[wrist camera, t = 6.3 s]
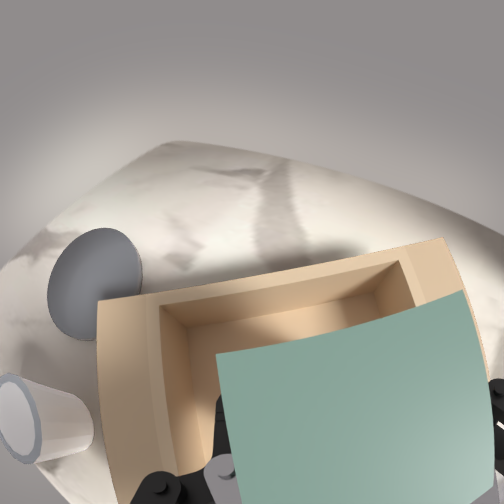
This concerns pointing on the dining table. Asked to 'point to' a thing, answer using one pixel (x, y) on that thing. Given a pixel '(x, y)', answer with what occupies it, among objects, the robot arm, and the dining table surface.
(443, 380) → the box
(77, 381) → the dining table surface
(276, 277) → the carton
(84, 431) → the white cup
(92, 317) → the slate plate
